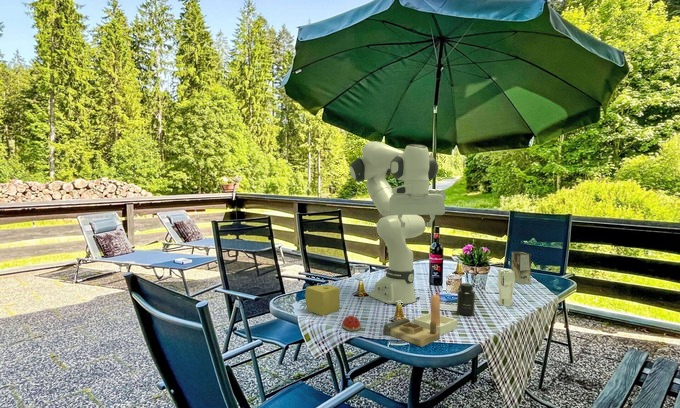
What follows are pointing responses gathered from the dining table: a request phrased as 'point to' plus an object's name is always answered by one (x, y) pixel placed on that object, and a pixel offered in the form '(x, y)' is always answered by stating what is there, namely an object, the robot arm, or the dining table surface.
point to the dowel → (435, 309)
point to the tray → (445, 325)
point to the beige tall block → (506, 286)
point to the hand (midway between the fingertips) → (415, 227)
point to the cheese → (322, 299)
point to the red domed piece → (351, 323)
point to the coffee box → (521, 267)
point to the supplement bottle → (466, 300)
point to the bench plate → (411, 332)
